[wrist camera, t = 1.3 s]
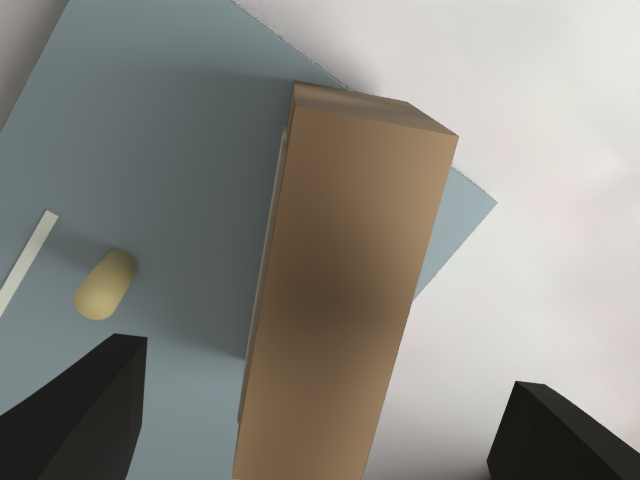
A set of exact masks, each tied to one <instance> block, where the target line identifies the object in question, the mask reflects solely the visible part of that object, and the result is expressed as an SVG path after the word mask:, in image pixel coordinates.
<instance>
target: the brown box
mask: <svg viewBox="0 0 640 480" xmlns="http://www.w3.org/2000/svg"><path fill="white" fill-rule="evenodd" d="M458 138H459V136H458V135H456V134H455V133H453V132H452V131H450V130H449V129H447V128H446V127H444V126H443V125H441V124H440V123H438V122H437V121H435V120H434V119H432V118H431V117H429V116H428V115H426V114H425V113H423V112H422V111H420V110H419V109H417V108H416V107H414V106H413V105H411V104H410V103H408V102H405V101H400V100H395V99H390V98H384V97H379V96H374V95H369V94H364V93H358V92H353V91H348V90H343V89H338V88H333V87H327V86H322V85H317V84H312V83H307V82H302V81H296V80H294V83H293V89H292V95H291V101H290V107H289V113H288V119H287V125H286V126H284V127H283V133H282V139H281V145H280V151H279V157H278V163H277V169H276V175H275V181H274V187H273V193H272V199H271V205H270V211H269V217H268V223H267V229H266V235H265V241H264V247H263V254H262V260H261V266H260V272H259V278H258V284H257V290H256V296H255V302H254V308H253V314H252V320H251V326H250V332H249V338H248V344H247V350H246V358H245V365H244V372H243V380H242V387H241V394H240V402H239V409H238V416H237V423H239V426H238V434H237V442H236V449H235V457H234V465H233V472H232V479H238V480H362V477H363V473H364V470H365V466H366V463H367V459H368V456H369V452H370V449H371V445H372V442H373V438H374V435H375V431H376V428H377V424H378V421H379V417H380V414H381V410H382V406H383V403H384V399H385V396H386V392H387V389H388V385H389V382H390V378H391V375H392V371H393V368H394V364H395V361H396V357H397V354H398V350H399V346H400V343H401V339H402V336H403V332H404V329H405V325H406V322H407V318H408V315H409V311H410V308H411V304H412V301H413V297H414V294H415V290H416V287H417V283H418V279H419V276H420V272H421V269H422V265H423V262H424V258H425V255H426V251H427V248H428V244H429V241H430V237H431V234H432V230H433V227H434V223H435V219H436V216H437V212H438V209H439V205H440V202H441V198H442V195H443V191H444V188H445V184H446V181H447V177H448V174H449V170H450V167H451V163H452V160H453V156H454V152H455V149H456V145H457V142H458Z"/></svg>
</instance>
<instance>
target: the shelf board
mask: <svg viewBox="0 0 640 480" xmlns="http://www.w3.org/2000/svg"><path fill="white" fill-rule="evenodd" d="M294 80H296V81H302V82H307V83H312V84H317V85H322V86H327V87H333V88H338V89H343V90H348V91H351V90H349V89H348V88H347V87H345V86H344V85H343V84H341V83H340V82H339V81H337V80H336V79H335V78H333V77H332V76H331V75H329V74H328V73H327V72H325V71H324V70H323V69H321V68H320V67H319V66H317V65H316V64H315V63H313V62H312V61H311V60H309V59H308V58H307V57H305V56H304V55H303V54H301V53H300V52H299V51H297V50H296V49H295V48H294V47H292V46H291V45H290V44H288V43H287V42H286V41H284V40H283V39H282V38H280V37H279V36H278V35H276V34H275V33H274V32H272V31H271V30H270V29H268V28H267V27H266V26H264V25H263V24H262V23H260V22H259V21H258V20H256V19H255V18H254V17H252V16H251V15H250V14H248V13H247V12H246V11H244V10H243V9H242V8H240V7H239V6H238V5H236V4H235V3H234V2H232V1H231V0H69V1H68V3H67V5H66V7H65V9H64V11H63V13H62V15H61V16H60V18H59V20H58V22H57V24H56V26H55V28H54V30H53V32H52V34H51V36H50V38H49V40H48V42H47V43H46V45H45V47H44V49H43V51H42V53H41V55H40V57H39V59H38V61H37V63H36V65H35V67H34V69H33V71H32V72H31V74H30V76H29V78H28V80H27V82H26V84H25V86H24V88H23V90H22V92H21V94H20V96H19V98H18V99H17V101H16V103H15V105H14V107H13V109H12V111H11V113H10V115H9V117H8V119H7V121H6V123H5V125H4V126H3V128H2V130H1V132H0V415H2V414H3V413H5V412H7V411H8V410H10V409H11V408H13V407H14V406H16V405H17V404H19V403H20V402H22V401H23V400H25V399H26V398H27V397H29V396H30V395H32V394H33V393H35V392H36V391H37V390H39V389H40V388H41V387H43V386H44V385H46V384H47V383H48V382H50V381H51V380H52V379H54V378H55V377H57V376H58V375H59V374H61V373H62V372H63V371H65V370H66V369H67V368H69V367H70V366H71V365H73V364H74V363H75V362H77V361H78V360H79V359H80V358H82V357H83V356H84V355H86V354H87V353H88V352H90V351H91V350H92V349H93V348H95V347H96V346H97V345H99V344H100V343H101V342H103V341H104V340H105V339H107V338H108V337H109V336H111V335H112V334H114V333H117V334H125V335H134V336H142V337H148V341H147V356H146V371H145V386H144V401H143V416H142V427H141V430H140V434H139V437H138V441H137V444H136V448H135V451H134V454H133V458H132V461H131V464H130V467H129V471H128V474H127V477H126V479H125V480H238V479H232V472H233V465H234V457H235V449H236V442H237V434H238V426H239V423H237V416H238V409H239V402H240V394H241V387H242V380H243V372H244V365H245V358H246V350H247V344H248V338H249V332H250V326H251V320H252V314H253V308H254V302H255V296H256V290H257V284H258V278H259V272H260V266H261V260H262V254H263V247H264V241H265V235H266V229H267V223H268V217H269V211H270V205H271V199H272V193H273V187H274V181H275V175H276V169H277V163H278V157H279V151H280V145H281V139H282V133H283V127H284V126H286V125H287V119H288V113H289V107H290V101H291V95H292V89H293V83H294ZM496 204H497V202H496V201H495V200H494V199H493V198H492V197H491V196H489V195H488V194H487V193H486V192H485V191H483V190H482V189H481V188H479V187H478V186H477V185H475V184H474V183H473V182H471V181H470V180H469V179H467V178H466V177H465V176H463V175H462V174H461V173H459V172H458V171H457V170H455V169H454V168H453V167H450V170H449V174H448V177H447V181H446V184H445V188H444V191H443V195H442V198H441V202H440V205H439V209H438V212H437V216H436V219H435V223H434V227H433V230H432V234H431V237H430V241H429V244H428V248H427V251H426V255H425V258H424V262H423V265H422V269H421V272H420V276H419V279H418V283H417V287H416V290H415V294H414V297H413V301H414V299H415V298H416V297H417V296H418V295H419V294H420V292H421V291H422V290H423V289H424V288H425V287H426V285H427V284H428V283H429V282H430V281H431V280H432V278H433V277H434V276H435V275H436V274H437V273H438V271H439V270H440V269H441V268H442V267H443V266H444V265H445V263H446V262H447V261H448V260H449V259H450V258H451V256H452V255H453V254H454V253H455V252H456V251H457V249H458V248H459V247H460V246H461V245H462V244H463V242H464V241H465V240H466V239H467V238H468V237H469V236H470V234H471V233H472V232H473V231H474V230H475V229H476V227H477V226H478V225H479V224H480V223H481V222H482V220H483V219H484V218H485V217H486V216H487V215H488V213H489V212H490V211H491V210H492V209H493V208H494V206H495V205H496ZM413 301H412V302H413Z"/></svg>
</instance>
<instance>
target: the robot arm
mask: <svg viewBox="0 0 640 480" xmlns="http://www.w3.org/2000/svg"><path fill="white" fill-rule="evenodd" d="M147 341H148V337H142V336H134V335H125V334H117V333H114V334H112V335H111V336H109V337H108V338H107V339H105V340H104V341H103V342H101V343H100V344H99V345H97V346H96V347H95V348H93V349H92V350H91V351H90V352H88V353H87V354H86V355H84V356H83V357H82V358H80V359H79V360H78V361H77V362H75V363H74V364H73V365H71V366H70V367H69V368H67V369H66V370H65V371H63V372H62V373H61V374H59V375H58V376H57V377H55V378H54V379H52V380H51V381H50V382H48V383H47V384H46V385H44V386H43V387H41V388H40V389H39V390H37V391H36V392H35V393H33V394H32V395H30V396H29V397H27V398H26V399H25V400H23V401H22V402H20V403H19V404H17V405H16V406H14V407H13V408H11V409H10V410H8V411H7V412H5V413H3V414H2V415H0V480H125V479H126V477H127V474H128V471H129V467H130V464H131V461H132V458H133V454H134V451H135V448H136V444H137V441H138V437H139V434H140V430H141V427H142V416H143V401H144V386H145V371H146V356H147ZM487 464H488V468H489V472H490V476H491V480H640V453H638V452H637V451H636V450H634V449H633V448H632V447H630V446H629V445H628V444H626V443H625V442H624V441H622V440H621V439H620V438H618V437H617V436H616V435H614V434H613V433H612V432H610V431H609V430H608V429H606V428H605V427H604V426H602V425H601V424H600V423H598V422H597V421H596V420H595V419H593V418H592V417H591V416H589V415H588V414H587V413H585V412H584V411H583V410H581V409H580V408H579V407H577V406H576V405H574V404H573V403H572V402H570V401H569V400H568V399H566V398H565V397H563V396H562V395H560V394H559V393H557V392H556V391H554V390H553V389H551V388H550V387H548V386H546V385H545V384H538V383H529V382H521V381H515V384H514V387H513V389H512V392H511V395H510V398H509V400H508V403H507V406H506V409H505V412H504V414H503V417H502V420H501V423H500V425H499V428H498V431H497V434H496V436H495V439H494V442H493V445H492V447H491V450H490V453H489V456H488V458H487Z"/></svg>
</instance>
